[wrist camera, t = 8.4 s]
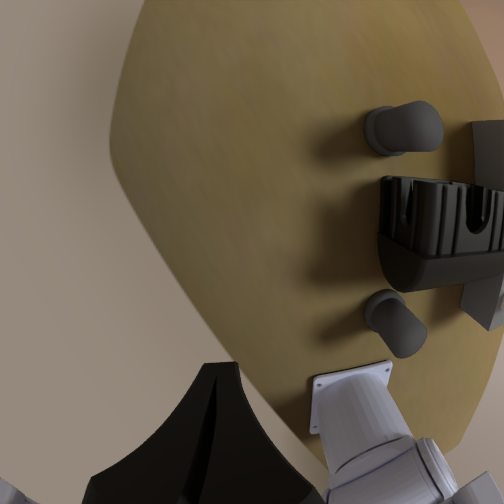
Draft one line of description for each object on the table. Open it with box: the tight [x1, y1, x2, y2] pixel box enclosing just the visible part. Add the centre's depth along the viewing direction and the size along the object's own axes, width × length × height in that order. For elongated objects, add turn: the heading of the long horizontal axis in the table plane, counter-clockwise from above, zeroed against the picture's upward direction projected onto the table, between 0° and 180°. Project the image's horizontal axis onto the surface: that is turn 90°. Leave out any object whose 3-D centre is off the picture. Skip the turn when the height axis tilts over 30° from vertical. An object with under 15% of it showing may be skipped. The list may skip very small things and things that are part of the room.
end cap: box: [378, 176, 504, 293], centre depth 16 cm, size 10×7×7 cm
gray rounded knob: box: [364, 101, 444, 156], centre depth 14 cm, size 4×4×5 cm
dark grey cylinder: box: [363, 289, 427, 359], centre depth 19 cm, size 4×4×5 cm
